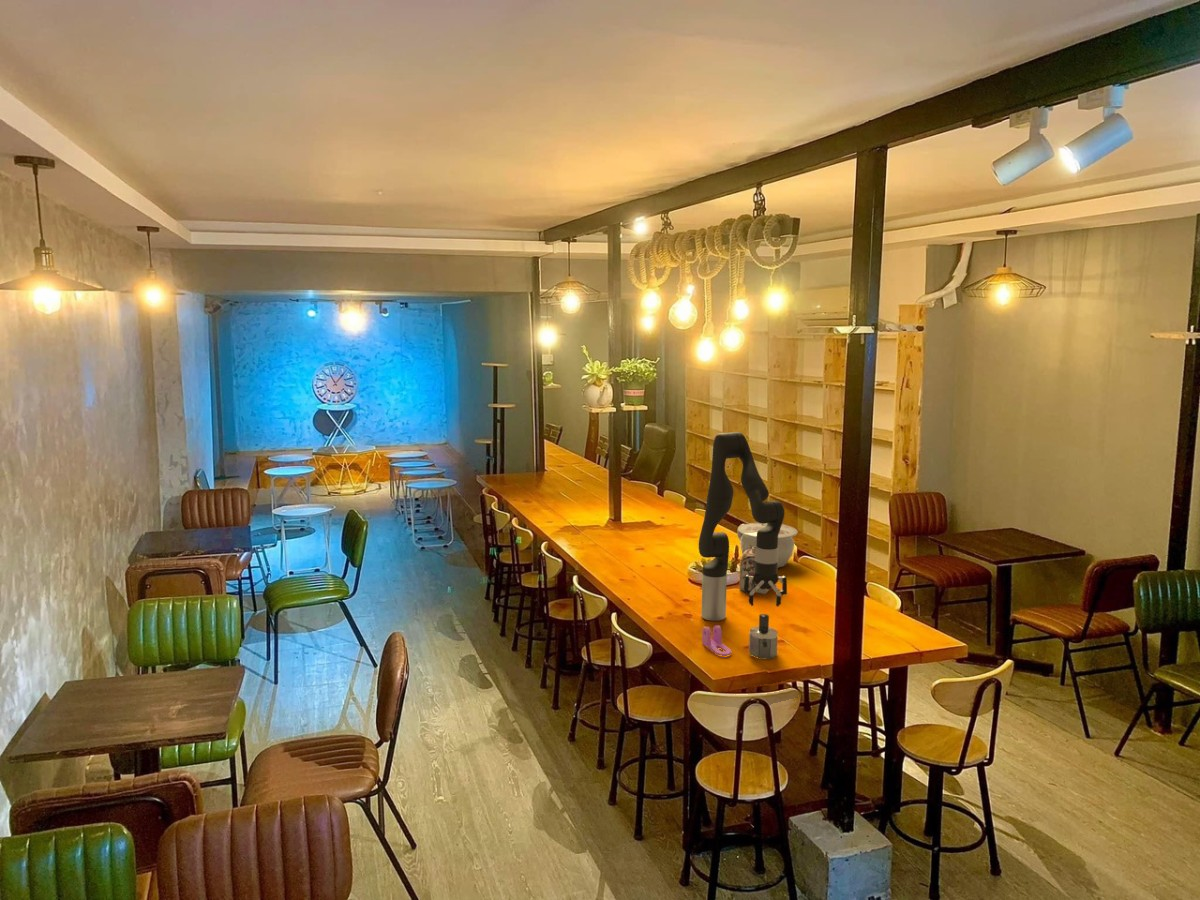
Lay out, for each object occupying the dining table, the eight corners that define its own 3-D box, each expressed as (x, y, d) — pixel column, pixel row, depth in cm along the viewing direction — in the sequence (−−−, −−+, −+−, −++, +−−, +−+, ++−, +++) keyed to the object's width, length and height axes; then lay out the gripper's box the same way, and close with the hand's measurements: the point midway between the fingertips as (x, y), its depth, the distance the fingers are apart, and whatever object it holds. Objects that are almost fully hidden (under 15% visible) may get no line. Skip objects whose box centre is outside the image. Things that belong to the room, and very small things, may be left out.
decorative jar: (738, 590, 350) (739, 549, 347) (747, 582, 360) (748, 542, 357) (766, 595, 344) (767, 553, 341) (774, 586, 354) (775, 546, 351)
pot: (747, 646, 291) (748, 627, 290) (773, 647, 291) (774, 627, 289) (751, 661, 279) (751, 641, 278) (778, 662, 278) (779, 642, 277)
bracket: (702, 644, 293) (702, 625, 292) (716, 642, 295) (716, 623, 294) (719, 658, 281) (720, 639, 280) (734, 656, 283) (734, 637, 282)
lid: (748, 629, 288) (748, 610, 287) (775, 629, 288) (775, 611, 287) (751, 639, 279) (752, 620, 278) (779, 640, 279) (779, 621, 277)
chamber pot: (802, 574, 372) (804, 529, 368) (741, 573, 372) (742, 528, 369) (789, 556, 399) (791, 514, 396) (732, 555, 400) (733, 513, 397)
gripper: (786, 556, 282) (784, 602, 285) (744, 555, 283) (742, 600, 286) (789, 563, 275) (787, 610, 278) (746, 562, 276) (744, 608, 279)
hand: (764, 605), depth 282 cm, fingers open, 8 cm apart
